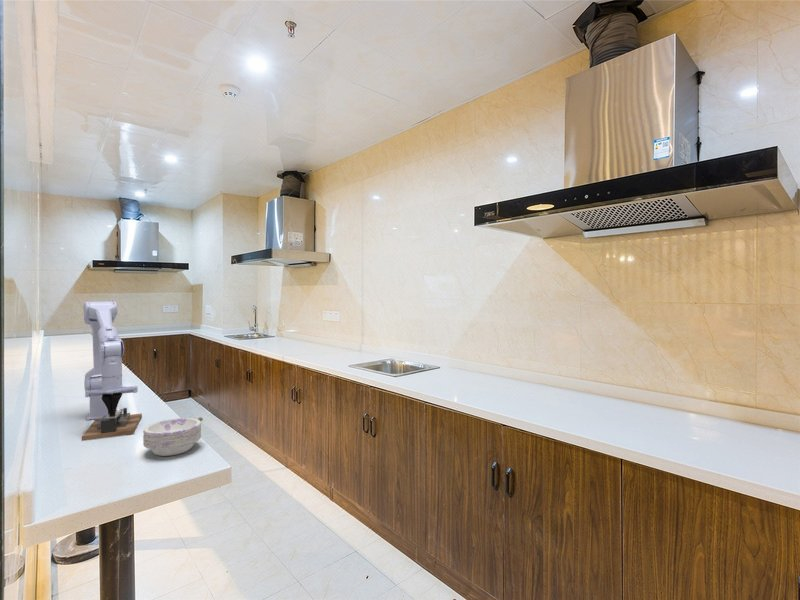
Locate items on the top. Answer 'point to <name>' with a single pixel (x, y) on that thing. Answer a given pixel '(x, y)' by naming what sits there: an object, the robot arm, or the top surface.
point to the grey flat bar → (118, 412)
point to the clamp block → (113, 422)
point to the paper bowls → (172, 436)
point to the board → (121, 431)
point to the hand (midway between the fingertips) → (112, 415)
